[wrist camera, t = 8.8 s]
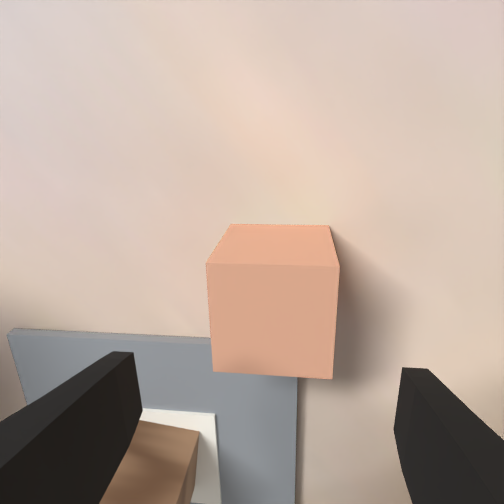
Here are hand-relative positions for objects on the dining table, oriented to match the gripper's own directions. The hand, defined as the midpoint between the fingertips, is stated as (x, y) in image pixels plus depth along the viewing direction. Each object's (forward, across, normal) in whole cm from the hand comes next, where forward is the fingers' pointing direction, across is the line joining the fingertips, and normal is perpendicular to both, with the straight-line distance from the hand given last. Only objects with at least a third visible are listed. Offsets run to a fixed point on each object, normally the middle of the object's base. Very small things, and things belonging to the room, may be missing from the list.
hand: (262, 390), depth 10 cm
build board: (+8, +7, +12) cm, 16 cm away
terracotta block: (+8, 0, 0) cm, 8 cm away
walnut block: (+8, +7, +12) cm, 15 cm away
